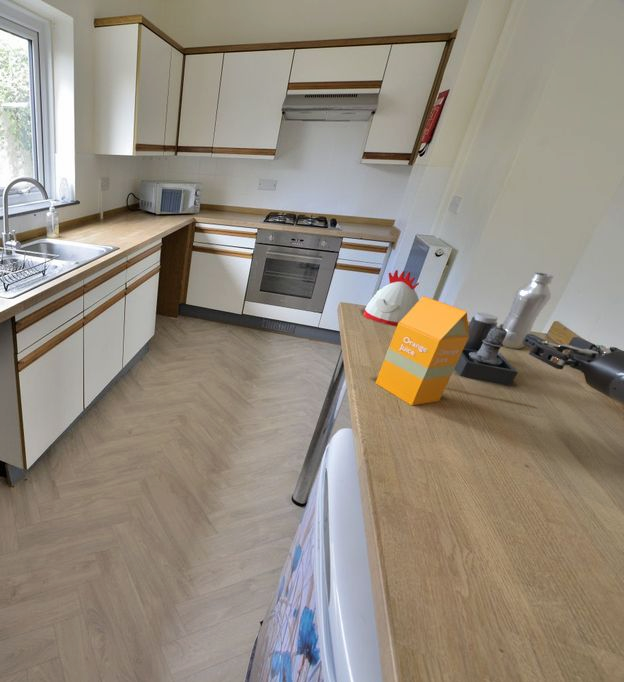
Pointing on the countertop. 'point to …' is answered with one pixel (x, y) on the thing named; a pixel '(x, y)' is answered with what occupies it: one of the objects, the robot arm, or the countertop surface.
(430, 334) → the orange juice
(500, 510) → the countertop surface
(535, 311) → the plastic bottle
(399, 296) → the kitchen timer
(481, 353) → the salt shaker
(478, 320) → the pepper shaker
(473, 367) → the dark grey tray
